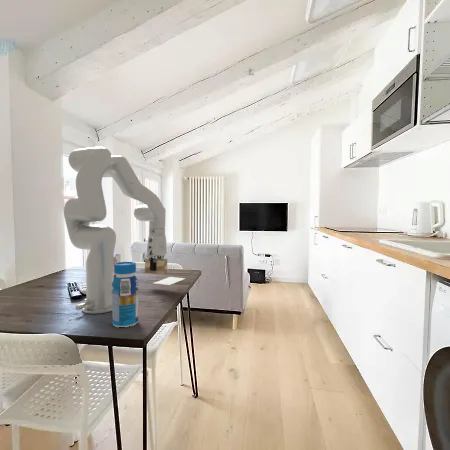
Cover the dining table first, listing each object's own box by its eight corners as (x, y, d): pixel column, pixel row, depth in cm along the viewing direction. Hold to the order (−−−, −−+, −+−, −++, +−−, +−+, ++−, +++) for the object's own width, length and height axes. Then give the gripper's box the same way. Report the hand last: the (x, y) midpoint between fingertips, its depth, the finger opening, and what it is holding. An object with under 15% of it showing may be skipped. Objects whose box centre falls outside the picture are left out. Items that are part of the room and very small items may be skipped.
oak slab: (162, 274, 138) (162, 259, 138) (144, 272, 142) (145, 258, 142) (167, 273, 141) (167, 258, 142) (149, 271, 145) (150, 257, 145)
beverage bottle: (106, 326, 94) (105, 264, 93) (123, 317, 102) (123, 260, 101) (127, 330, 91) (127, 266, 90) (144, 320, 99) (143, 262, 98)
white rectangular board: (169, 285, 146) (169, 285, 146) (152, 283, 150) (152, 283, 150) (185, 279, 161) (185, 278, 161) (170, 277, 165) (170, 276, 165)
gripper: (152, 232, 132) (151, 273, 132) (173, 232, 148) (172, 268, 148) (139, 232, 135) (138, 271, 135) (160, 231, 151) (159, 267, 151)
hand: (156, 269), depth 142 cm, fingers closed on oak slab, 4 cm apart
